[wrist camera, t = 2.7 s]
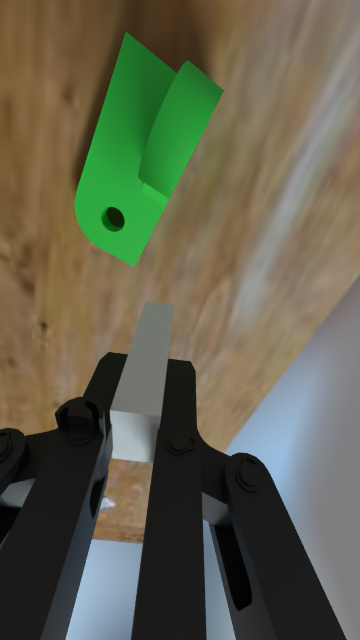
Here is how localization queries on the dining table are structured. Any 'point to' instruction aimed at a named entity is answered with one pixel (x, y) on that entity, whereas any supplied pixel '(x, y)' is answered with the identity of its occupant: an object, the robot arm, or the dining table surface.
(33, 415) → the dining table surface
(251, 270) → the dining table surface
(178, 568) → the robot arm
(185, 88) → the mechanical part
